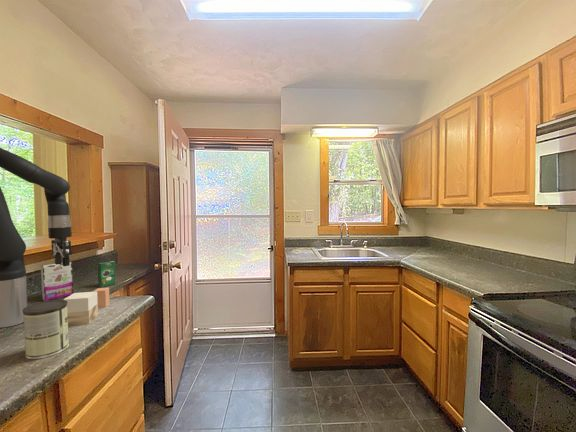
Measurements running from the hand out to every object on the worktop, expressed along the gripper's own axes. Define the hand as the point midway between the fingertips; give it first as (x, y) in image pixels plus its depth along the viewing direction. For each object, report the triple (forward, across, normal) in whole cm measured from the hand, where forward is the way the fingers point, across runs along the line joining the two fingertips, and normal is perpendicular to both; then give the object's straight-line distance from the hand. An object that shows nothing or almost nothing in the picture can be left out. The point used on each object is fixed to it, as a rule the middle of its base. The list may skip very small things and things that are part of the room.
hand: (62, 265), depth 117 cm
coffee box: (+19, -26, +27) cm, 42 cm away
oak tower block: (+20, +17, 0) cm, 27 cm away
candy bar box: (+19, -25, +5) cm, 31 cm away
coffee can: (+21, +34, -15) cm, 43 cm away
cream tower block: (+15, +17, 0) cm, 23 cm away
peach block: (+20, +6, +11) cm, 24 cm away
